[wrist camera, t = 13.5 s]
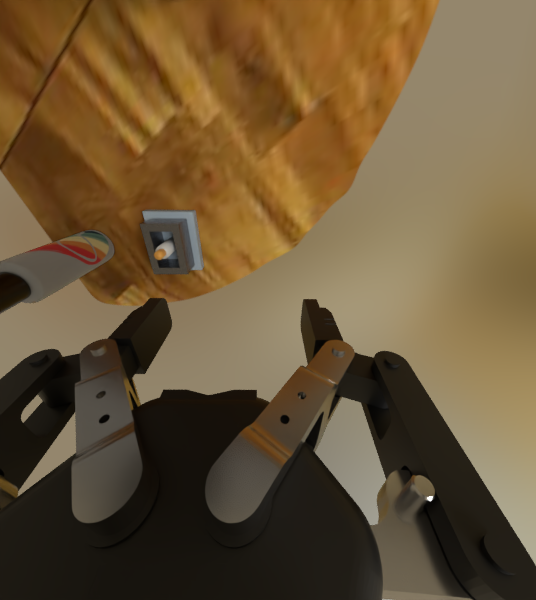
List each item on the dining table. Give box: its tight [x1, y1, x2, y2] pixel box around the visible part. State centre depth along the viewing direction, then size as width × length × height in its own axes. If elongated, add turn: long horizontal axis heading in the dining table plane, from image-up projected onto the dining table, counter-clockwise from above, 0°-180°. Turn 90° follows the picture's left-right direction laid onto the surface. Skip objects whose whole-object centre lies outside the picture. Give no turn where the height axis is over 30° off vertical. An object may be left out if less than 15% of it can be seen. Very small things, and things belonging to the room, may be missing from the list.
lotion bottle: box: [0, 230, 114, 314], centre depth 31 cm, size 6×6×20 cm
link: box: [140, 218, 195, 274], centre depth 36 cm, size 8×6×4 cm
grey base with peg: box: [142, 210, 204, 270], centre depth 36 cm, size 10×8×8 cm
